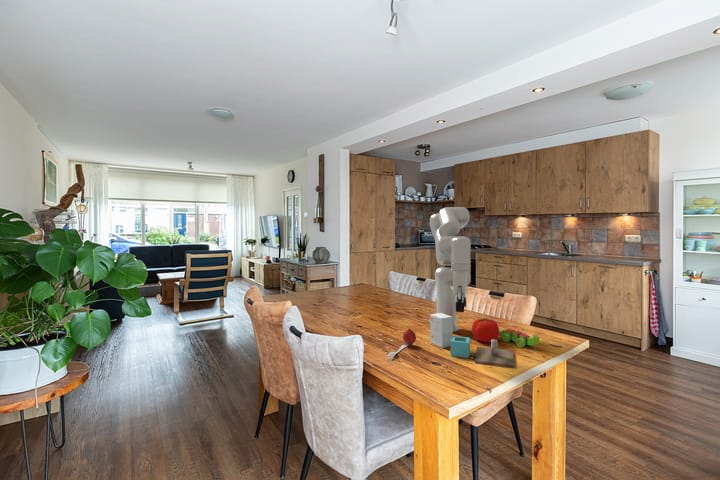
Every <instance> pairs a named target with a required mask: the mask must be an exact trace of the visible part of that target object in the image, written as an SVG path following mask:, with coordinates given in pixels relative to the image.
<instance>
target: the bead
mask: <svg viewBox="0 0 720 480" xmlns="http://www.w3.org/2000/svg"><path fill="white" fill-rule="evenodd" d="M470 353H471V337H466V336H457V335H456V336H455V335H453V336H452V339H451V346H450V356H451V357H456V358H457V357H458V358H466V359H470Z"/></svg>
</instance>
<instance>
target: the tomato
mask: <svg viewBox="0 0 720 480" xmlns="http://www.w3.org/2000/svg"><path fill="white" fill-rule="evenodd" d="M499 330H500V328H499V325H498V322H496V321H495V320H494V319H491V318H489V319H488V317H487V318H478V319H476V320H474V321H473V323H472V325H471V333H472V335H473V337H474V338H475V340H477V341H479V342H482V343H491V340H492V339H495V340H498V338H499V337H500V336H499Z"/></svg>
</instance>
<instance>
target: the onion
mask: <svg viewBox="0 0 720 480" xmlns="http://www.w3.org/2000/svg"><path fill="white" fill-rule="evenodd" d="M416 335H417V334H416V333H415V331H414V330H412V328H410V327H408V328H407V329H406V330H405V331H404V333H403V335H402V340H403V342H404V343H405V345H408V347H411V346H412V345H413V344H414V343H415V342H416V341H417V336H416Z"/></svg>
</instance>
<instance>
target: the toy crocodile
mask: <svg viewBox="0 0 720 480" xmlns="http://www.w3.org/2000/svg"><path fill="white" fill-rule="evenodd" d="M532 336H533V337H532ZM532 336H530V335H528V334H526V333H523V332H522V331H519V330H515V329H511V328H506V329H502V330H501V329H499V336H498V337H501V339H502V340H503V342H504V343H509V342H510V341H512V342H515V344H516V345H517V347H519V348H523V347H525V346H535V345H536V344H538V343H539V342H540V337H539V335H538V334H536V333H534V334H533V335H532Z"/></svg>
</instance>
